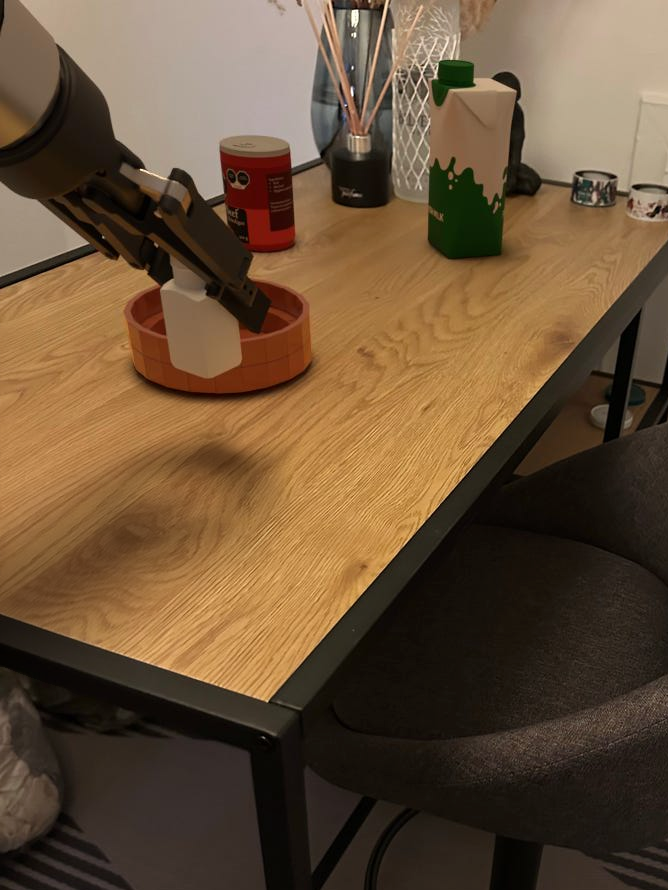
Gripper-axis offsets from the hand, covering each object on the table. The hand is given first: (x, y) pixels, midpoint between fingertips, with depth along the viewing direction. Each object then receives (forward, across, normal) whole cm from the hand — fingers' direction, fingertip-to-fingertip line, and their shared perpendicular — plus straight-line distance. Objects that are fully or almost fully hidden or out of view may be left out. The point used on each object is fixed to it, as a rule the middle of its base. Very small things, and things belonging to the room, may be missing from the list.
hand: (233, 309), depth 71 cm
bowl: (+14, -10, 0) cm, 18 cm away
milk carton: (+45, -6, +30) cm, 55 cm away
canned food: (+36, -27, +21) cm, 50 cm away
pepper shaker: (0, 0, -5) cm, 5 cm away
